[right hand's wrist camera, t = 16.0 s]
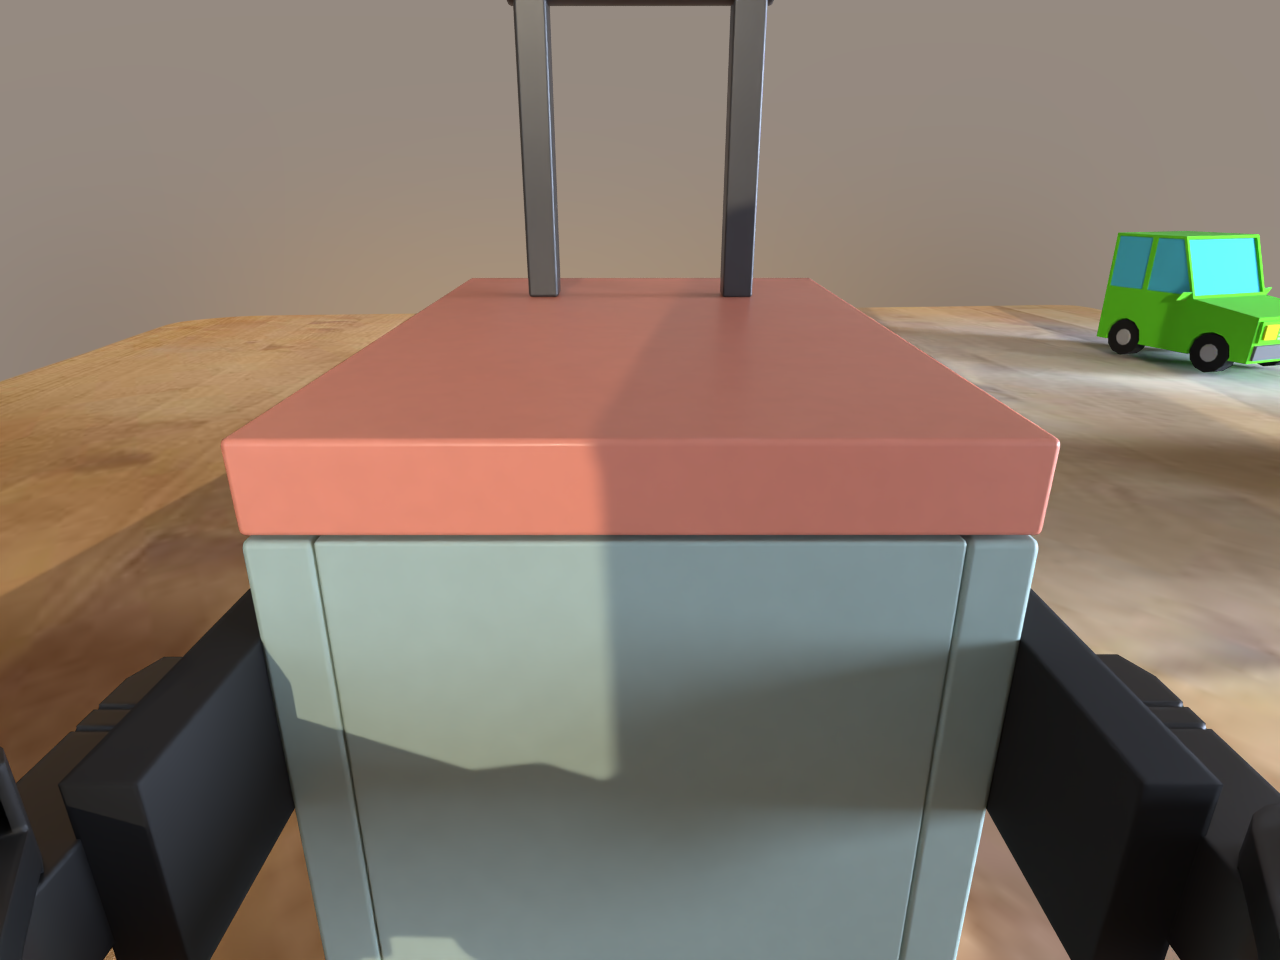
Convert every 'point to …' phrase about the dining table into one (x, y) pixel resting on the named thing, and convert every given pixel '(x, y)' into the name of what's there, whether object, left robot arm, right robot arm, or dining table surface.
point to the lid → (640, 392)
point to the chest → (640, 739)
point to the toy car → (1192, 298)
